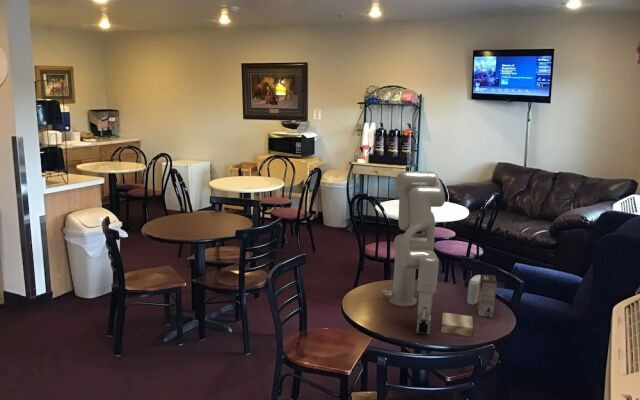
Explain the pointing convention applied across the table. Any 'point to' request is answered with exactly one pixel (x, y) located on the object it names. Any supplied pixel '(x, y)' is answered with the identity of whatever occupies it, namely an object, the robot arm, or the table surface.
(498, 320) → the table surface
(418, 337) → the table surface
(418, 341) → the table surface
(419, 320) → the sage block
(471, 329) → the maple base
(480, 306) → the coffee box
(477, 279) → the photo printer
